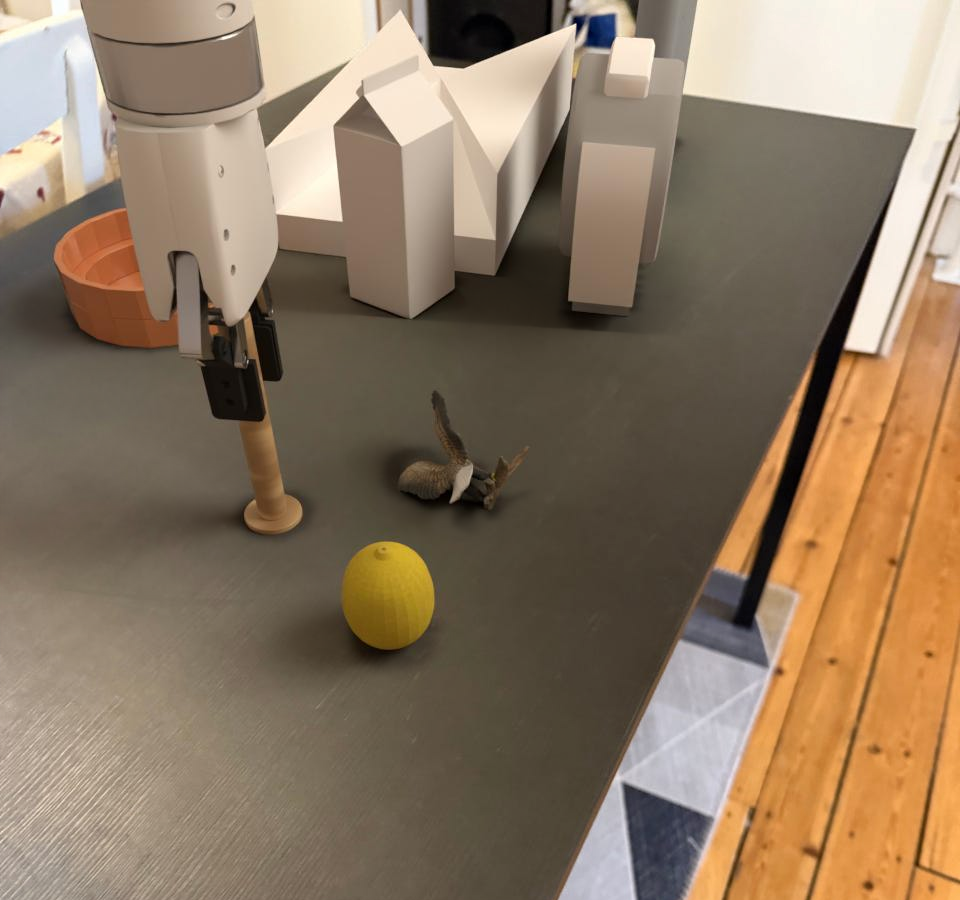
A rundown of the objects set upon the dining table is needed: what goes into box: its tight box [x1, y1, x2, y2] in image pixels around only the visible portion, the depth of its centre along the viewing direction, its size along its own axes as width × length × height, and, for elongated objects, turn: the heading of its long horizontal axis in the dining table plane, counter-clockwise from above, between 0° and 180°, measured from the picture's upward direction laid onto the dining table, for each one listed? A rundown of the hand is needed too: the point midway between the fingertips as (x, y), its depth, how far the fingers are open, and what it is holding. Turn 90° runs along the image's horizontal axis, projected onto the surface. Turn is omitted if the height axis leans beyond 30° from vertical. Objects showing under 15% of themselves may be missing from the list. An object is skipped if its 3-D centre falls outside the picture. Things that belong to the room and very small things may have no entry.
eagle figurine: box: [397, 388, 530, 510], centre depth 65 cm, size 8×7×9 cm
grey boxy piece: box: [558, 36, 685, 317], centre depth 80 cm, size 18×8×20 cm, turn 170°
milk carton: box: [333, 55, 456, 320], centre depth 79 cm, size 7×7×19 cm
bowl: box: [53, 207, 219, 349], centre depth 82 cm, size 16×16×6 cm
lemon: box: [340, 541, 435, 651], centre depth 55 cm, size 6×6×8 cm
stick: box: [217, 311, 304, 535], centre depth 59 cm, size 4×4×16 cm
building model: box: [265, 9, 577, 277], centre depth 102 cm, size 45×22×10 cm, turn 167°
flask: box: [633, 0, 699, 101], centre depth 96 cm, size 17×5×25 cm, turn 162°
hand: (249, 394), depth 57 cm, fingers open, 3 cm apart
